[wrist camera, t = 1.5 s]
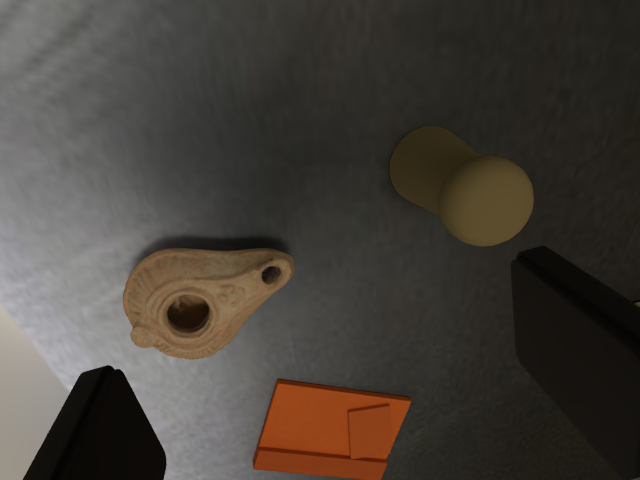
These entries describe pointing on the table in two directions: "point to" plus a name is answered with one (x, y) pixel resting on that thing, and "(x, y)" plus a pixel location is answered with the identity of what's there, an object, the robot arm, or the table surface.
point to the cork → (462, 186)
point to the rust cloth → (329, 431)
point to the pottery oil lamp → (199, 296)
